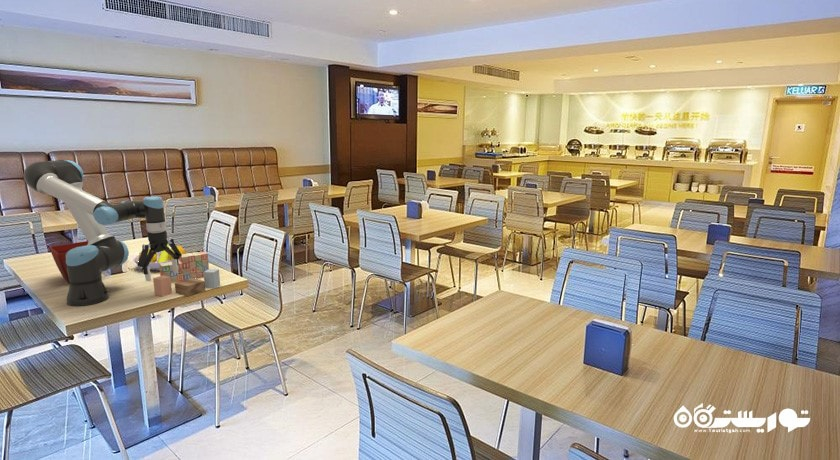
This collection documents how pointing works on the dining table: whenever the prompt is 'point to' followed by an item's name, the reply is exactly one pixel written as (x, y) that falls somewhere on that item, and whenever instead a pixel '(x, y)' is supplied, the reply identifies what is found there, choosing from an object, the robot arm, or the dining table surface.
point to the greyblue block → (211, 278)
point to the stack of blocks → (186, 267)
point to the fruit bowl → (160, 258)
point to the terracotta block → (162, 285)
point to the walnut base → (190, 286)
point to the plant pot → (64, 256)
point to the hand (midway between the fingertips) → (162, 276)
